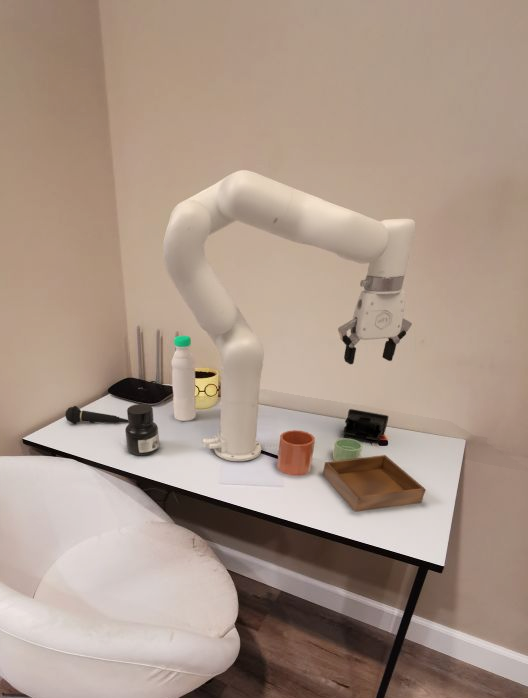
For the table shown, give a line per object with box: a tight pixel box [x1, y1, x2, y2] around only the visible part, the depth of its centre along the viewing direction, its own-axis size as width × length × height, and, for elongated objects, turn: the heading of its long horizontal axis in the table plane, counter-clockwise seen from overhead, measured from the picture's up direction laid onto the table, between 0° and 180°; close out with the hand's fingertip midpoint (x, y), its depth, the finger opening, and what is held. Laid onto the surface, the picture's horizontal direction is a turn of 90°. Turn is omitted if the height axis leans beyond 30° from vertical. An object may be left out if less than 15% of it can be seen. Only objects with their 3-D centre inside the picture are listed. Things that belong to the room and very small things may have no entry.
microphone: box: [64, 405, 129, 425], centre depth 135 cm, size 6×6×20 cm
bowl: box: [331, 437, 363, 461], centre depth 109 cm, size 6×6×4 cm
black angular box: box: [342, 408, 389, 445], centre depth 118 cm, size 10×7×7 cm
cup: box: [276, 429, 316, 477], centre depth 105 cm, size 8×8×8 cm
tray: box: [322, 454, 426, 513], centre depth 98 cm, size 15×15×4 cm
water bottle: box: [170, 335, 197, 422], centre depth 130 cm, size 7×7×25 cm
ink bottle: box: [125, 403, 160, 456], centre depth 117 cm, size 10×9×12 cm
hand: (367, 361), depth 104 cm, fingers open, 9 cm apart
